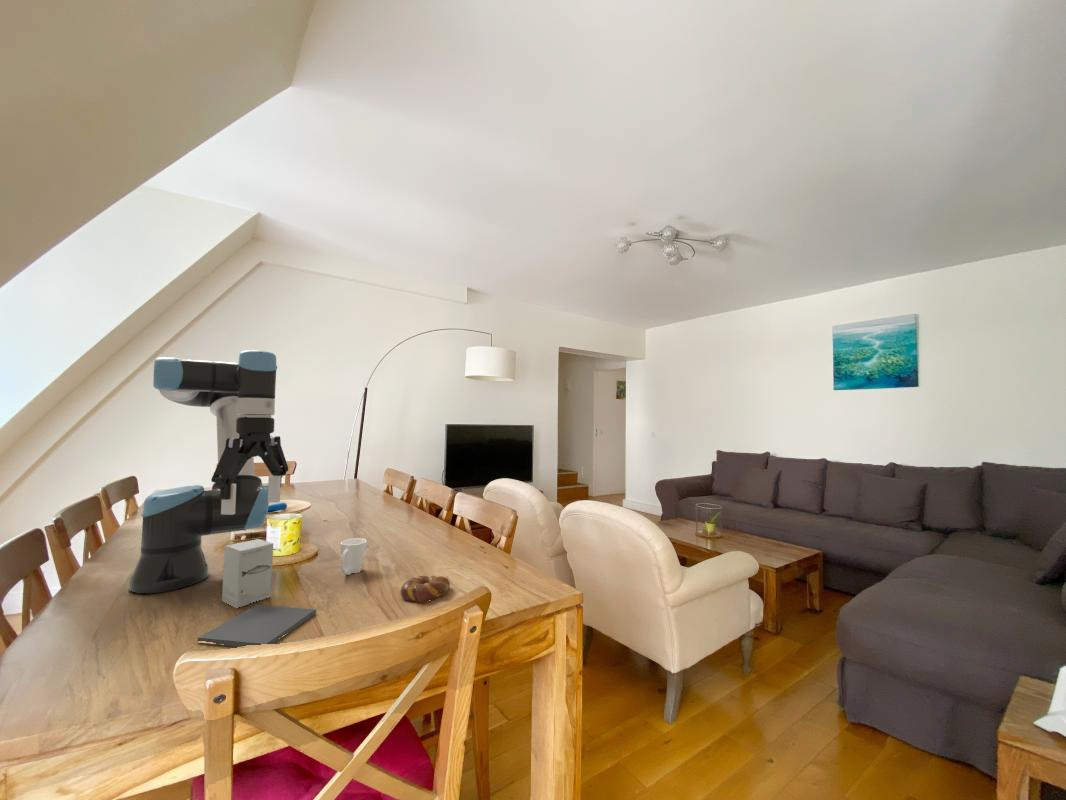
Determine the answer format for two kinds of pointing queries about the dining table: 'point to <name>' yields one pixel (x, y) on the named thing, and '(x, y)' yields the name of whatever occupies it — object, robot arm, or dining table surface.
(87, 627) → the dining table surface
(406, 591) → the pretzel
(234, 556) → the supplement box
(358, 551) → the cup
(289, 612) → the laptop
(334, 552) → the dining table surface
